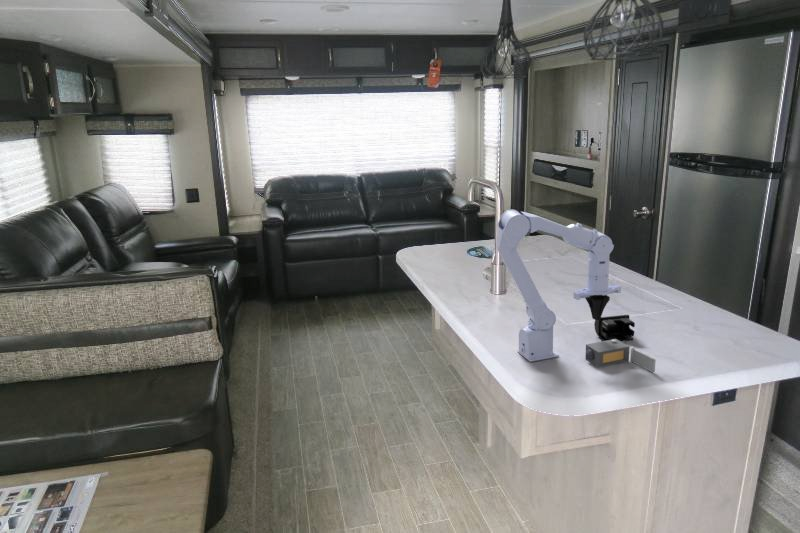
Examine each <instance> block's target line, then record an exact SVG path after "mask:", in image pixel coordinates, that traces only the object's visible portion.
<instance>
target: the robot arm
mask: <svg viewBox="0 0 800 533" xmlns="http://www.w3.org/2000/svg"><path fill="white" fill-rule="evenodd" d="M537 231H541V232H545V233H549V234H551V235H555V236H558V237H562V239H563V242H564V243H566V244H568V245H571V246H573V247H577V248H579V249H581V250H582V249H583V250H586V251H588V259H587V278H586V279H587V280H586V283H587V284H586V287H585V288H582V289H581V288H580V289H579V290H576V291H573V299H575V300H581V299H585V300H586V302H587V304H588V307H589V310H590V313H591V318H592V319H593V320H594V321H595V320H600V319H601V317H603V316H602V315H603V312H604V309H605V307H606V306H607V304H608V303H609V301H610V299H611V298H610V296H608V295H609V294H615V293H616V294H621V293H622V285H621V286H620V285H619V284H615V285H614V284H612V285H609V277H610V276H609V275H610V255H611V253H612V252H613V250H614V247H615V244H613V241H612V238H611V237H609V236H608V235H606V234H604V233H602V232H601V231H599V230H597V229H595V228H593V229H590V228H587V227H583V224H581V223H579V222H576V223H571V224H569V225H563V224H561V223H558V222H555V221H553V220H550V219H548V218H544V217H542V216H539V215H536V214H533V213H530V212H525V211H520V212H519V211H518V210H516V209H508V210H505V211H504V212H503V213H502V214H501V216H500V218H499V220H498V222H497V236H496V237H497V238H496V249H497V251H498V254H499V255H500V258H501V260H502V261H503V263H504V265H505V267H506V269H507V271H508V272H509V274H510V276H511V278H512V280H513V282H514V284H515V285H516V287H517V289H518V291H519V293H520V295H521V296H522V299H523V303H524V305H525V312H526V315H527V316H528V318H529V320H528V322H527V325H526V326H525V327H523V328H521V329H519V332H518V350H517V353H518V354H520V355H521V356H523V358H525V359H526V360H527V361H529V362H538V361H542V360H547V359H552V358H558V357H559V356H560V355H559V353H557V352H556V351H554V326H555V324H556V321H557V316H556V314H555V313H554V311H553V310H551V309H550V307H549V306H548V305H547V303H546V302H545V301H544V300H543V298H542V296H541V295H540V293H539V291H538V288H537V287H536V284H535V283H534V280H533V279H532V278H531V276H530V274H529V272H528V270H527V267H526V266H525V264H524V262H523V260H522V258H521V256H520V254H519V252H518V251H517V248H518V246H519V244H520V242H521V241H522V240H523V238H525V236H526V235H527V234H528V233H530V234H532V233H535V232H537Z"/></svg>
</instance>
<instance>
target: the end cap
mask: <svg viewBox="0 0 800 533" xmlns="http://www.w3.org/2000/svg"><path fill="white" fill-rule="evenodd" d="M635 324H636V323H635V322H634V321H633V320H631V319H630V315H629V314H619V315H611V316H610V315H609V316H601V319H600V320H595V319H594V324H593V325H594V331H595V333H596V335H597V337H598V338H599V339H600V340H601V341H607V340H612V339H617V340H619V341H621V342H628V341H629V342H630V341H633V340H634V336H635V331H634V330H633V329H632V328H635V326H636V325H635ZM630 326H631V327H632V328H631V327H630Z"/></svg>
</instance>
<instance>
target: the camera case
mask: <svg viewBox="0 0 800 533" xmlns="http://www.w3.org/2000/svg"><path fill="white" fill-rule="evenodd" d="M630 349H631V346H630V345H629V344H626V343H624V341H619V340H617V339H612V340H607V341H603V340H601V341H597V342H592V343H586V344H585V360H586V361H588V362H589V363H591V364H592V365H594V366H595V367H597V368H601V367H602V368H603V367H606V366H611V365H615V364H621V363H625V362H626V363H627V362H629V361H630Z"/></svg>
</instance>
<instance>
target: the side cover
mask: <svg viewBox="0 0 800 533" xmlns="http://www.w3.org/2000/svg"><path fill="white" fill-rule="evenodd" d="M629 361H630V362H631V363H635V364H636V365H638V366H640V367H642V368H645V369H646V370H647V371H650V372H652V373H655V372H656V361H657V359H656V358H654V357H652V356H650V355H649V354H647V353H644V352H642V351H640V350H638V349H636V348H635V346H630V356H629Z"/></svg>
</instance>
